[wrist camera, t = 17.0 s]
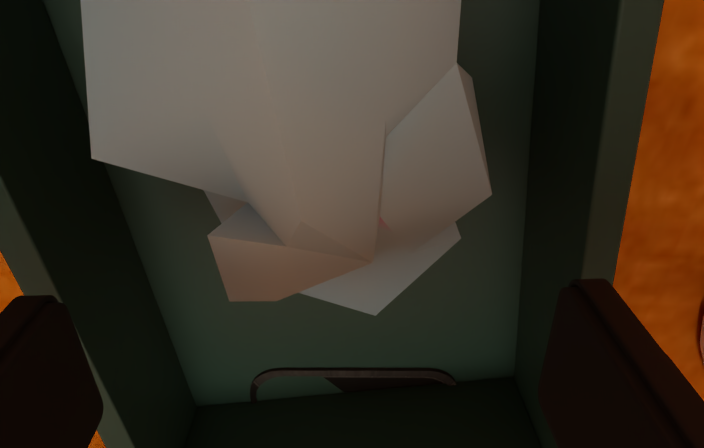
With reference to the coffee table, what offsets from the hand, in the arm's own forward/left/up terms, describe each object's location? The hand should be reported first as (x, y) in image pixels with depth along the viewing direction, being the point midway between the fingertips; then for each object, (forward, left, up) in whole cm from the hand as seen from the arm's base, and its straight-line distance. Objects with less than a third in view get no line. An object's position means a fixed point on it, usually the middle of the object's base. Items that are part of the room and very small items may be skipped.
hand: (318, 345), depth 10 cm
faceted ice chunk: (0, -4, -5) cm, 6 cm away
